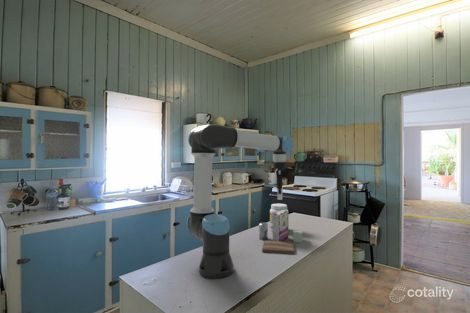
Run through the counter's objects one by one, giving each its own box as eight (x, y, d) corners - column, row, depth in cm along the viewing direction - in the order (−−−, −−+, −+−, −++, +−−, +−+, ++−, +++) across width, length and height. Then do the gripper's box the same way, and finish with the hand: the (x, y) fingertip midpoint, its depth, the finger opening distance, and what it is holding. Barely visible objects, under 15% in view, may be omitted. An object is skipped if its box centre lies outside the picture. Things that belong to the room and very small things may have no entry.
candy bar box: (280, 236, 157) (280, 209, 157) (288, 237, 154) (288, 210, 154) (272, 241, 148) (271, 213, 148) (279, 243, 145) (279, 214, 145)
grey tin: (267, 240, 150) (267, 225, 150) (258, 239, 151) (258, 224, 151) (267, 237, 155) (267, 222, 155) (259, 237, 156) (259, 222, 156)
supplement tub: (280, 234, 160) (279, 207, 160) (266, 230, 170) (265, 204, 169) (292, 230, 168) (292, 205, 168) (278, 226, 177) (278, 202, 177)
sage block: (302, 242, 146) (302, 233, 146) (293, 241, 147) (293, 233, 147) (301, 239, 151) (301, 230, 151) (293, 238, 152) (293, 230, 152)
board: (293, 254, 129) (293, 251, 129) (262, 252, 132) (262, 249, 132) (292, 244, 143) (292, 241, 143) (264, 242, 146) (264, 240, 146)
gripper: (286, 162, 137) (286, 201, 138) (285, 160, 162) (286, 194, 162) (272, 162, 139) (272, 201, 139) (273, 160, 163) (274, 193, 164)
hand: (280, 197), depth 151 cm, fingers open, 13 cm apart
